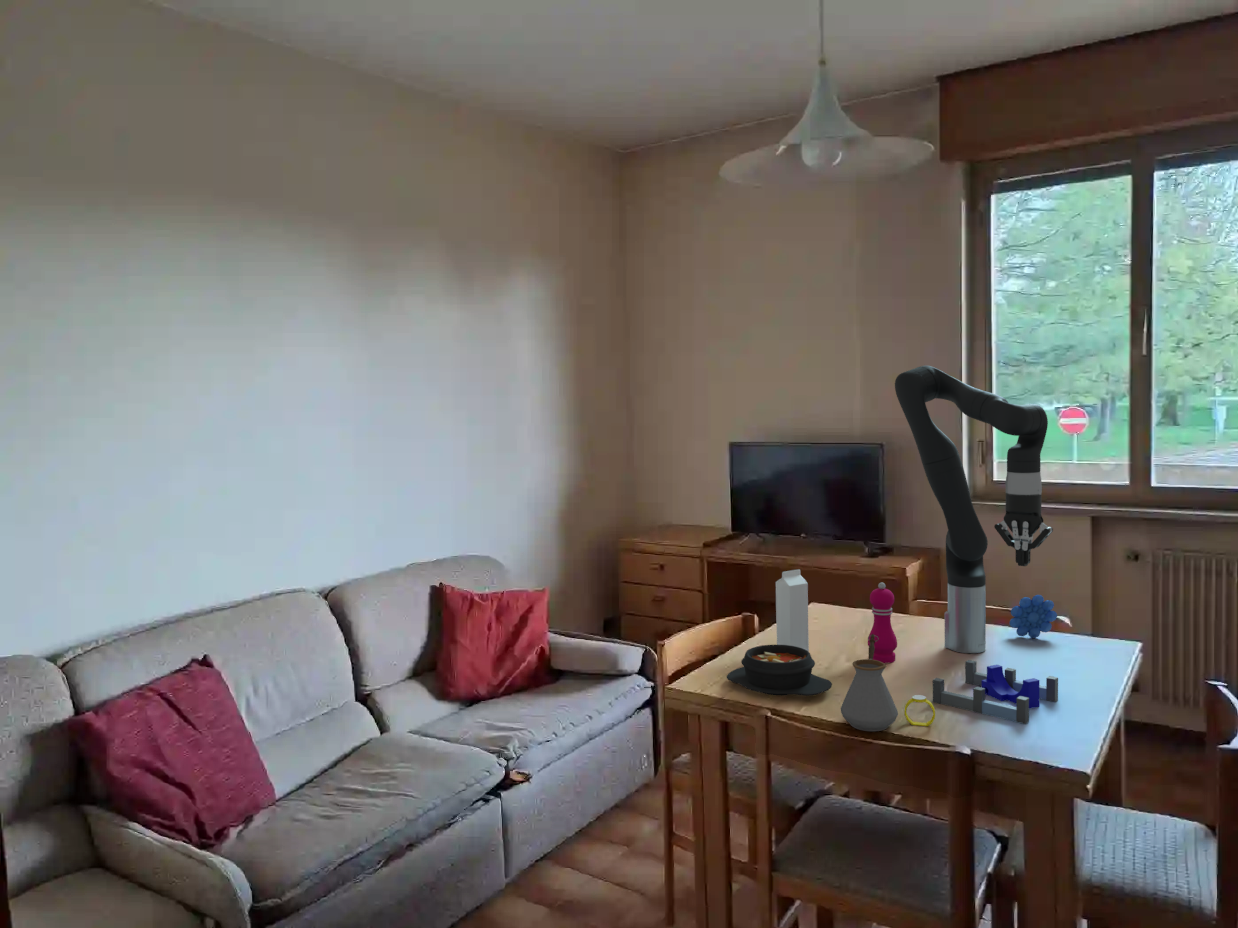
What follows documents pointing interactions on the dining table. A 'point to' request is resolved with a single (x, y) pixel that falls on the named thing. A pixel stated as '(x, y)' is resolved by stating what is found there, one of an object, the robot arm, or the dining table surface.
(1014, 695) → the blue curved block
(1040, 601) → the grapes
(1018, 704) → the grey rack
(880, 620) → the pepper mill
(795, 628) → the milk
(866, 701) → the coffee pot
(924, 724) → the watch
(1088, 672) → the dining table surface
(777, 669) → the casserole
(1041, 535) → the robot arm
